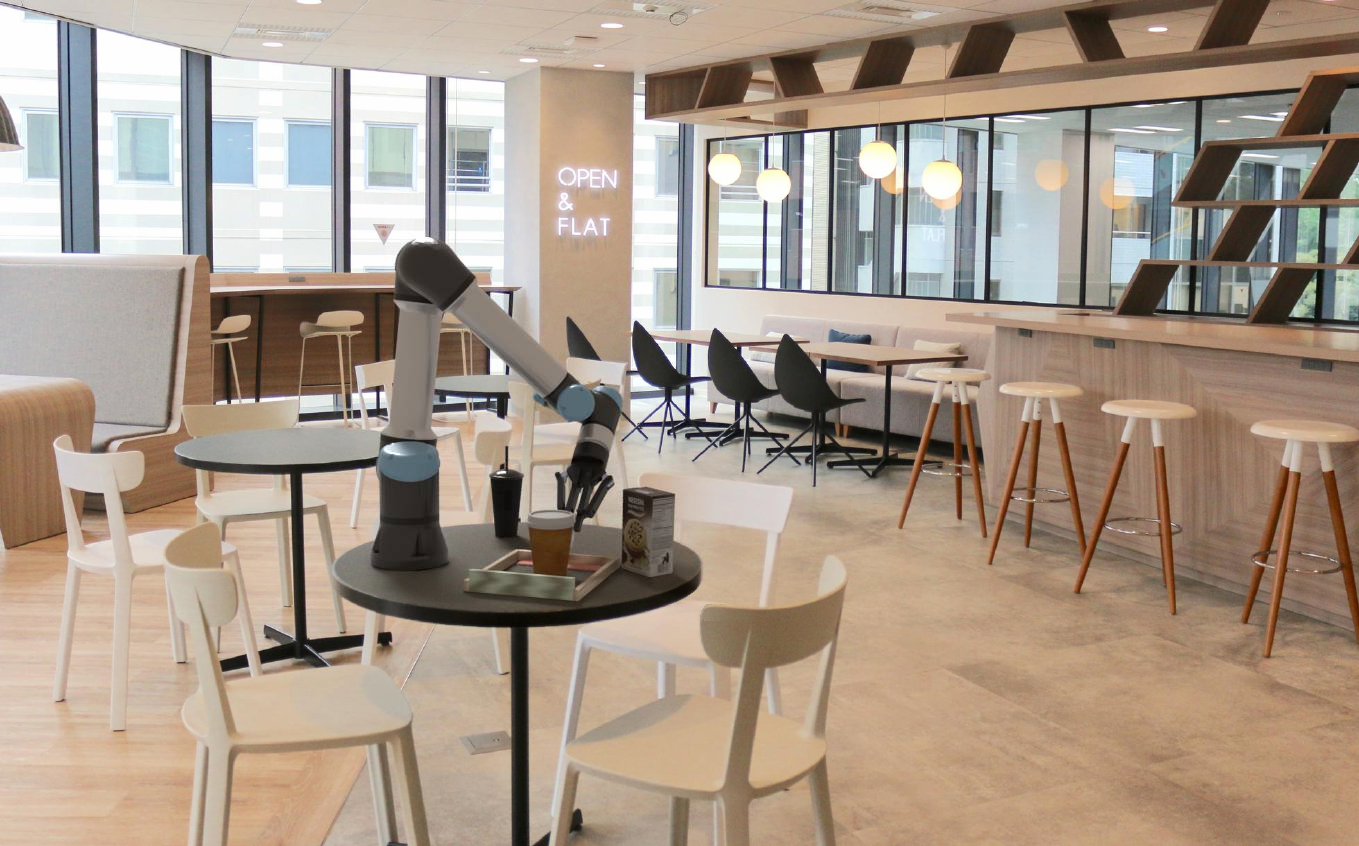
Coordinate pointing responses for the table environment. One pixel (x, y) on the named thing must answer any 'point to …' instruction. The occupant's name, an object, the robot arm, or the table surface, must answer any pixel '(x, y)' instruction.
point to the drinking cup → (506, 499)
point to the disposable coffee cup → (550, 540)
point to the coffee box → (648, 531)
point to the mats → (570, 565)
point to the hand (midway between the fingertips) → (566, 543)
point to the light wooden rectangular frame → (538, 578)
